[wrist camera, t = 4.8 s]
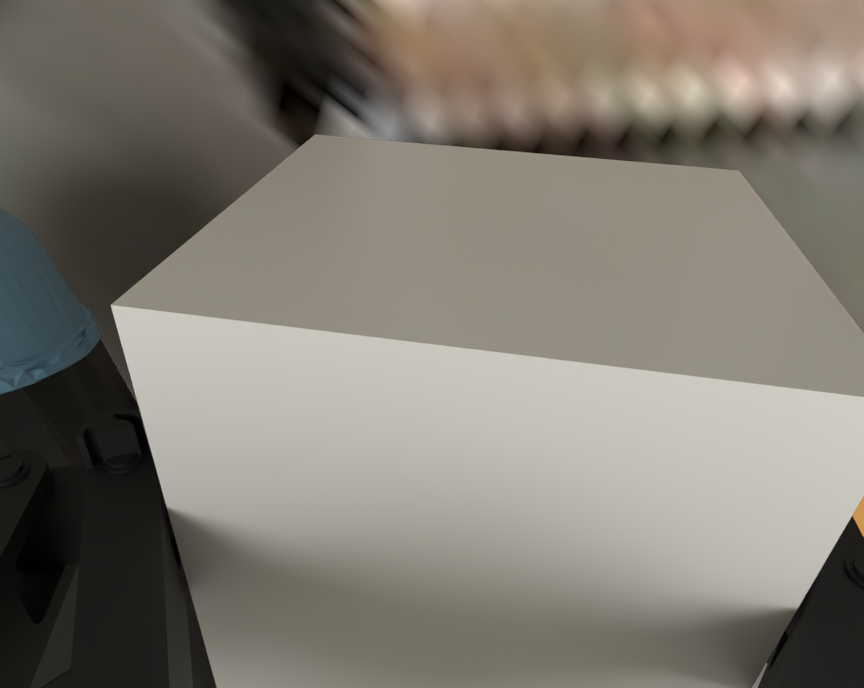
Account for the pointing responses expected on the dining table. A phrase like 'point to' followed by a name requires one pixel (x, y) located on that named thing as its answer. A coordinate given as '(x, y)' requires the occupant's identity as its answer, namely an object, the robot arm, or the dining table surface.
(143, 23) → the dining table surface
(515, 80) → the dining table surface
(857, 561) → the robot arm
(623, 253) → the plain off-white cube
